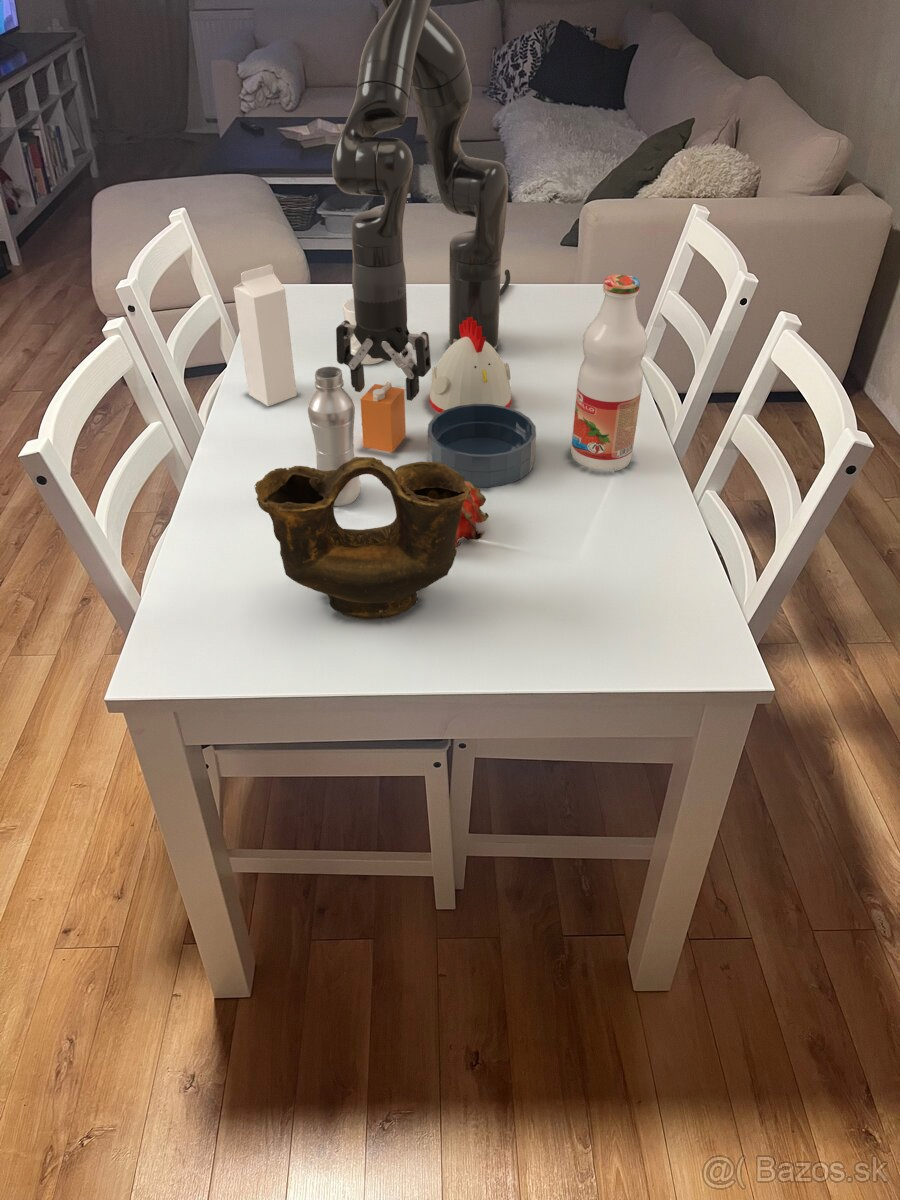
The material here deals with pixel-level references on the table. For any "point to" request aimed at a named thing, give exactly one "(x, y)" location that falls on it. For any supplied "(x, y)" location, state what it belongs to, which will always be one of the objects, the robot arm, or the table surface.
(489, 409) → the bowl
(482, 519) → the dragon fruit
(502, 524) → the table surface
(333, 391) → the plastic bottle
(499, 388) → the kitchen timer
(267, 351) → the milk
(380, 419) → the carton
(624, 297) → the fruit juice
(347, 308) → the white cup
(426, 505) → the pottery vessel
